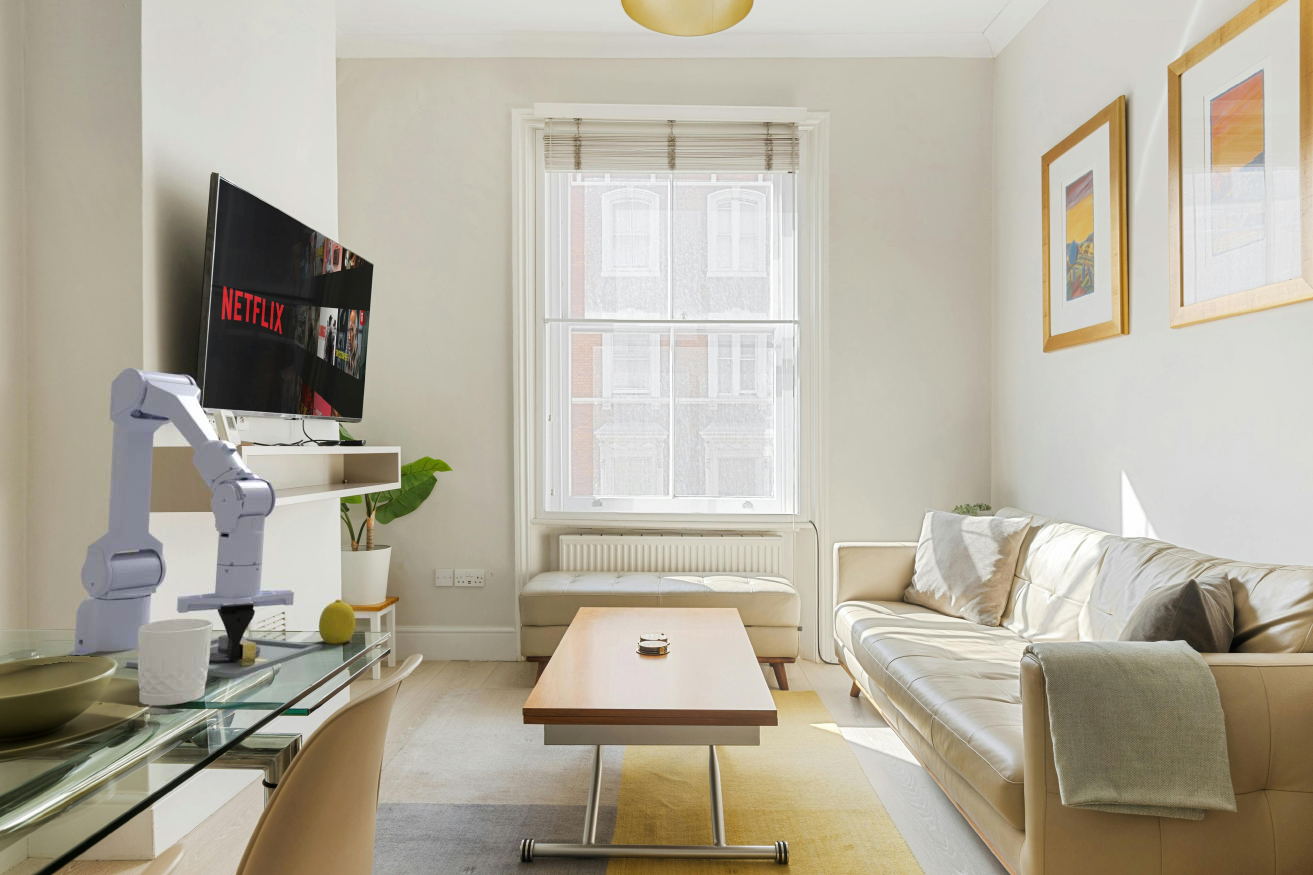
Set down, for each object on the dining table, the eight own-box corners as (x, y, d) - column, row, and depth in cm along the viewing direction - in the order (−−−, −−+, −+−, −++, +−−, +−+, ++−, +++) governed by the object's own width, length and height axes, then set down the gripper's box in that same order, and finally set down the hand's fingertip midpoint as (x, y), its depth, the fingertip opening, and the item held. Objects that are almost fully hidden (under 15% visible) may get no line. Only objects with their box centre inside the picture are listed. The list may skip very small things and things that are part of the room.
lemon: (360, 645, 130) (362, 597, 130) (343, 653, 124) (346, 603, 124) (328, 643, 130) (331, 595, 130) (311, 651, 125) (313, 601, 125)
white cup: (140, 700, 98) (145, 620, 98) (212, 694, 101) (216, 617, 102) (127, 719, 91) (132, 633, 91) (204, 712, 94) (209, 629, 94)
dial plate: (125, 674, 109) (126, 661, 109) (225, 646, 126) (225, 635, 126) (234, 687, 104) (235, 673, 105) (321, 656, 122) (322, 644, 122)
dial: (190, 655, 115) (191, 634, 115) (247, 646, 121) (248, 627, 121) (218, 670, 108) (219, 648, 108) (277, 660, 114) (278, 639, 114)
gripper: (184, 569, 103) (177, 672, 103) (300, 564, 112) (295, 659, 112) (178, 562, 109) (171, 659, 109) (289, 558, 118) (283, 648, 117)
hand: (233, 658), depth 111 cm, fingers closed, pressing on dial
